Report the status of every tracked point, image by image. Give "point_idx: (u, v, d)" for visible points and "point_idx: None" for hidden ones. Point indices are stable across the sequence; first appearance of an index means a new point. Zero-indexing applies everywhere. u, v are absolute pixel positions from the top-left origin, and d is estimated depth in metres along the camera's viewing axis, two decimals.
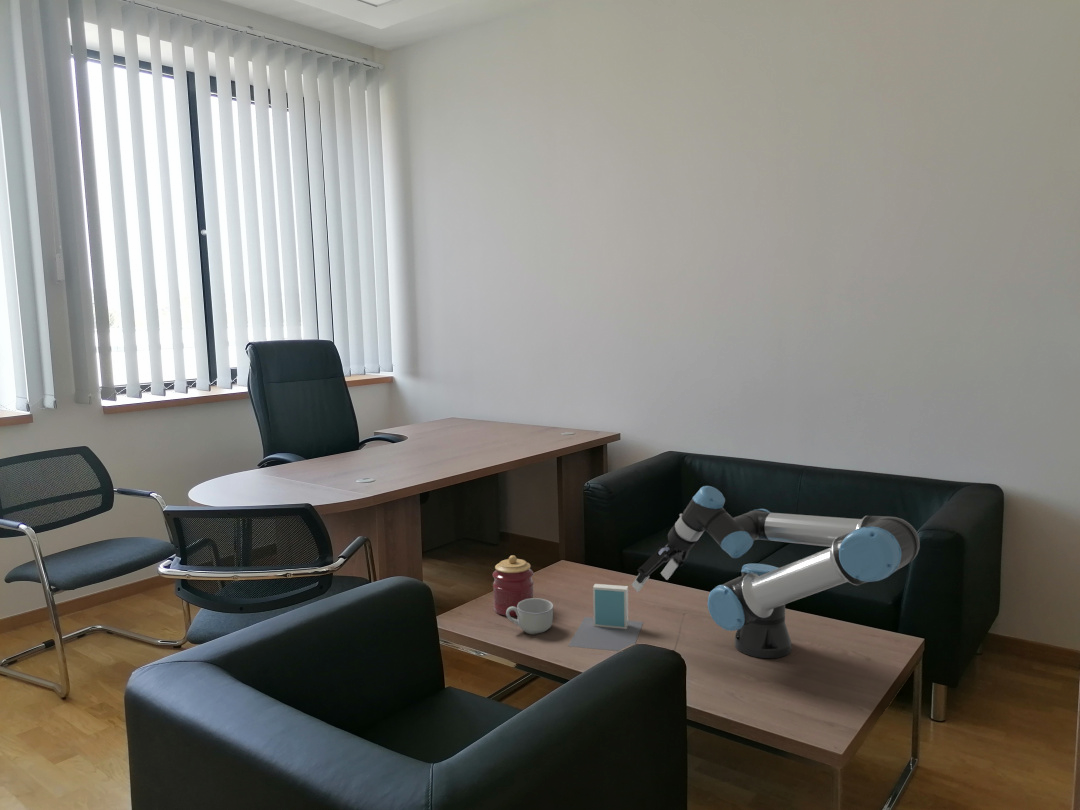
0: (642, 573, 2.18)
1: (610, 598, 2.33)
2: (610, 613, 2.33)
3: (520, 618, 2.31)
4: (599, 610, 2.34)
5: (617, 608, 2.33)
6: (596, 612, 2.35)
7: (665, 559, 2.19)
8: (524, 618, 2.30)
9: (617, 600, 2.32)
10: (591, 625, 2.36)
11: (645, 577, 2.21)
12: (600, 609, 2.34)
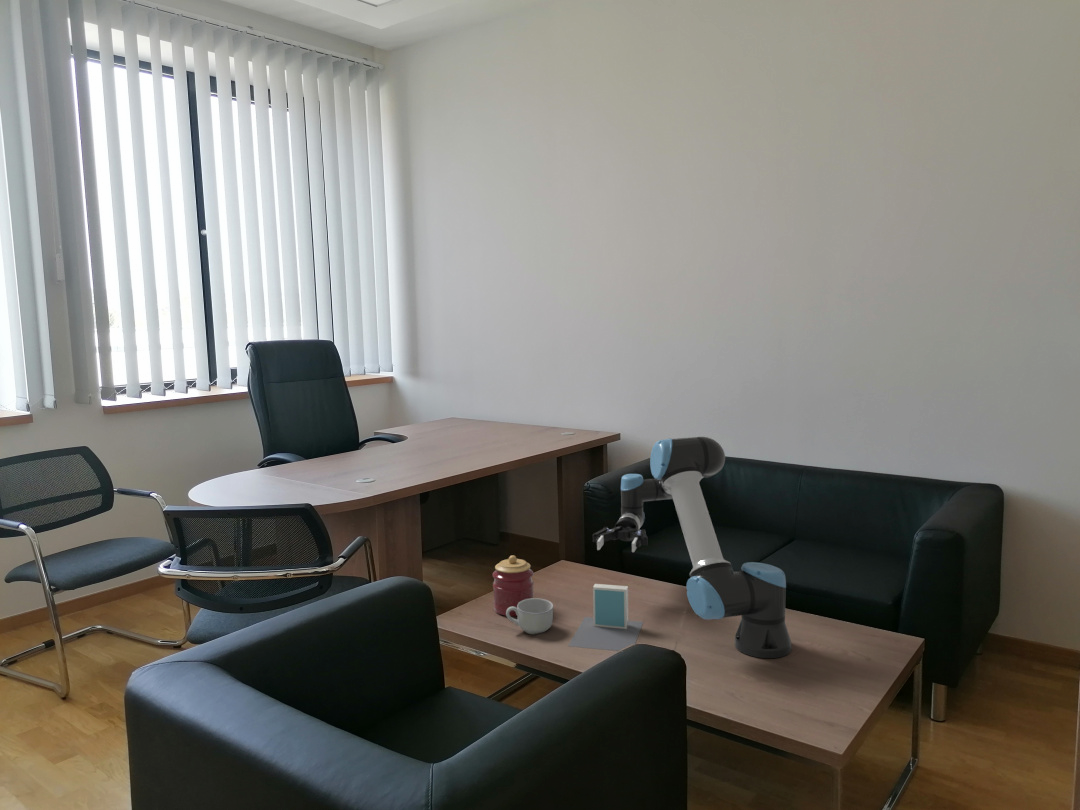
0: None
1: (610, 598, 2.33)
2: (610, 613, 2.33)
3: (520, 618, 2.31)
4: (599, 610, 2.34)
5: (617, 608, 2.33)
6: (596, 612, 2.35)
7: None
8: (524, 618, 2.30)
9: (617, 600, 2.32)
10: (591, 625, 2.36)
11: None
12: (600, 609, 2.34)
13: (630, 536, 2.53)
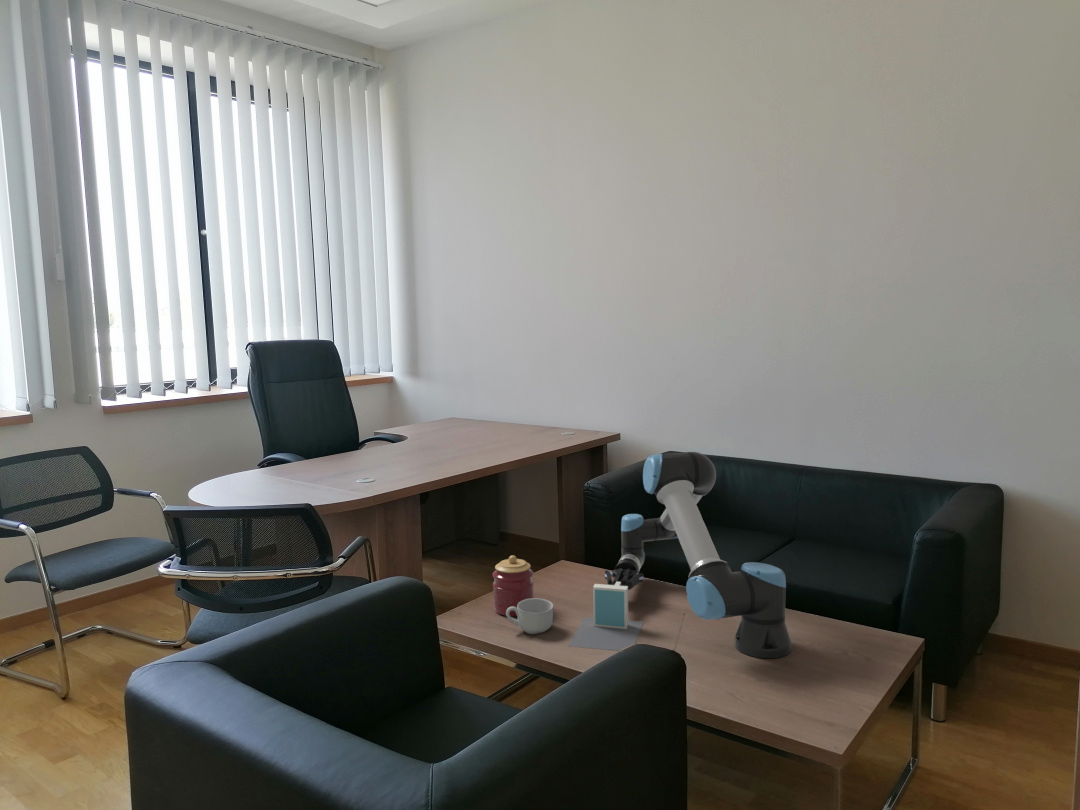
0: (608, 582, 2.50)
1: (610, 598, 2.33)
2: (610, 613, 2.33)
3: (520, 618, 2.31)
4: (599, 610, 2.34)
5: (617, 608, 2.33)
6: (596, 612, 2.35)
7: (616, 574, 2.55)
8: (524, 618, 2.30)
9: (617, 600, 2.32)
10: (591, 625, 2.36)
11: None
12: (600, 609, 2.34)
13: None
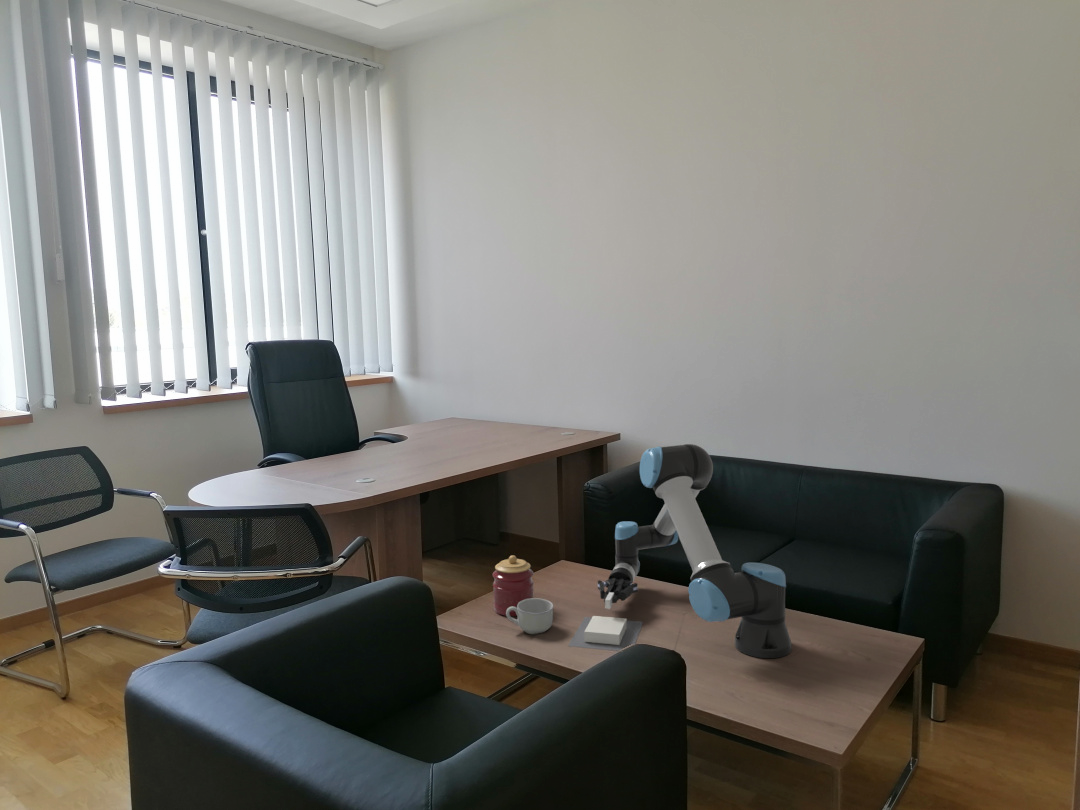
0: (600, 592, 2.41)
1: None
2: None
3: (520, 618, 2.31)
4: None
5: None
6: None
7: (610, 584, 2.46)
8: (524, 618, 2.30)
9: None
10: None
11: None
12: None
13: None
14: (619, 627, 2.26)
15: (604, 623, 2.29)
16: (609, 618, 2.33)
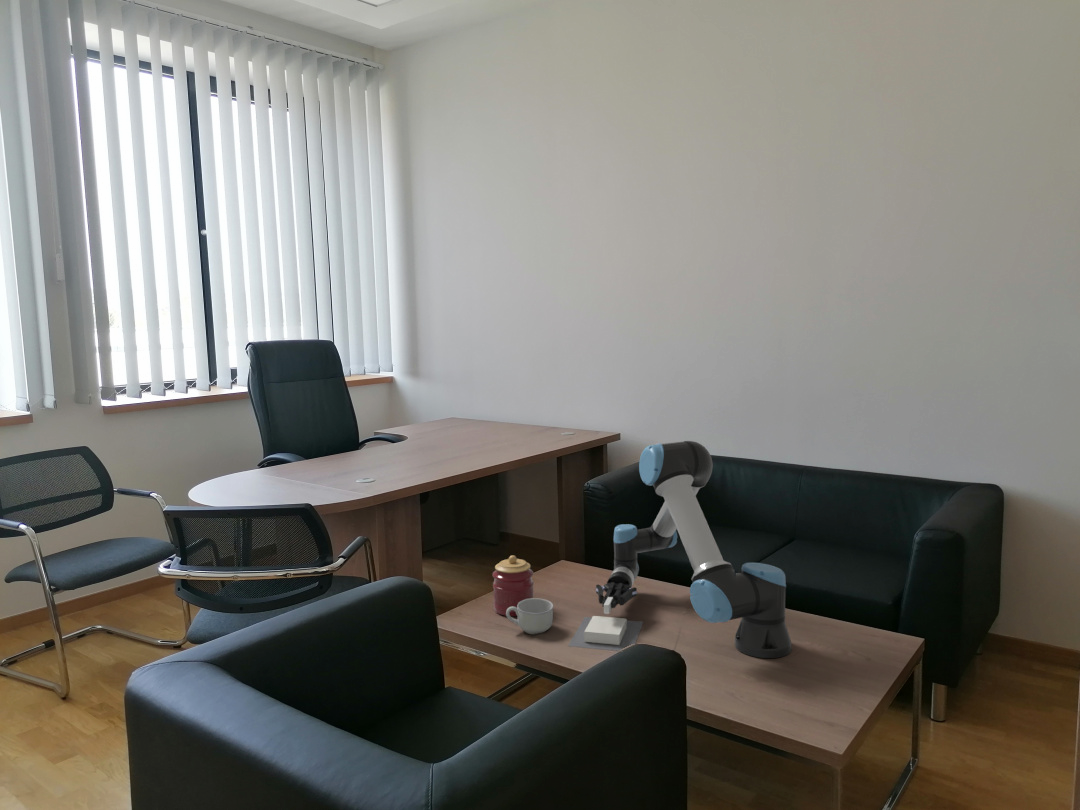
0: (599, 597, 2.37)
1: None
2: None
3: (520, 618, 2.31)
4: None
5: None
6: None
7: (608, 588, 2.42)
8: (524, 618, 2.30)
9: None
10: None
11: None
12: None
13: None
14: (619, 627, 2.26)
15: (604, 623, 2.29)
16: (609, 618, 2.33)
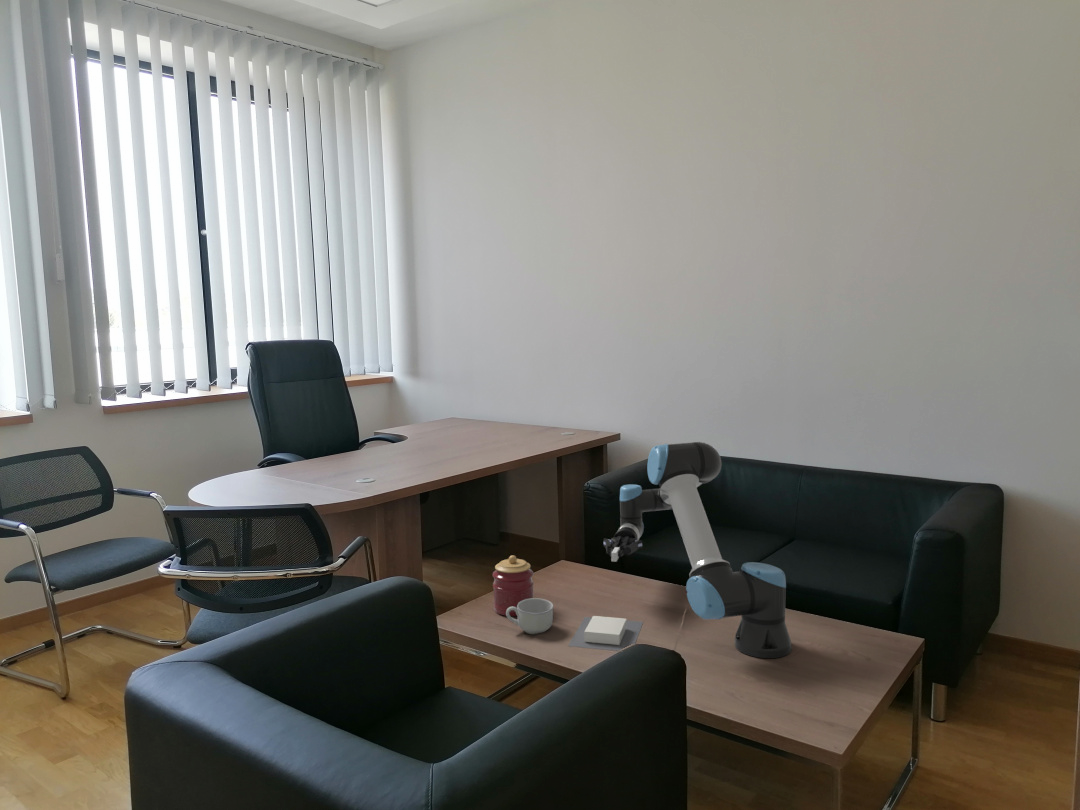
0: (606, 548, 2.50)
1: None
2: None
3: (520, 618, 2.31)
4: None
5: None
6: None
7: (615, 541, 2.55)
8: (524, 618, 2.30)
9: None
10: None
11: None
12: None
13: None
14: (619, 627, 2.26)
15: (604, 623, 2.29)
16: (609, 618, 2.33)
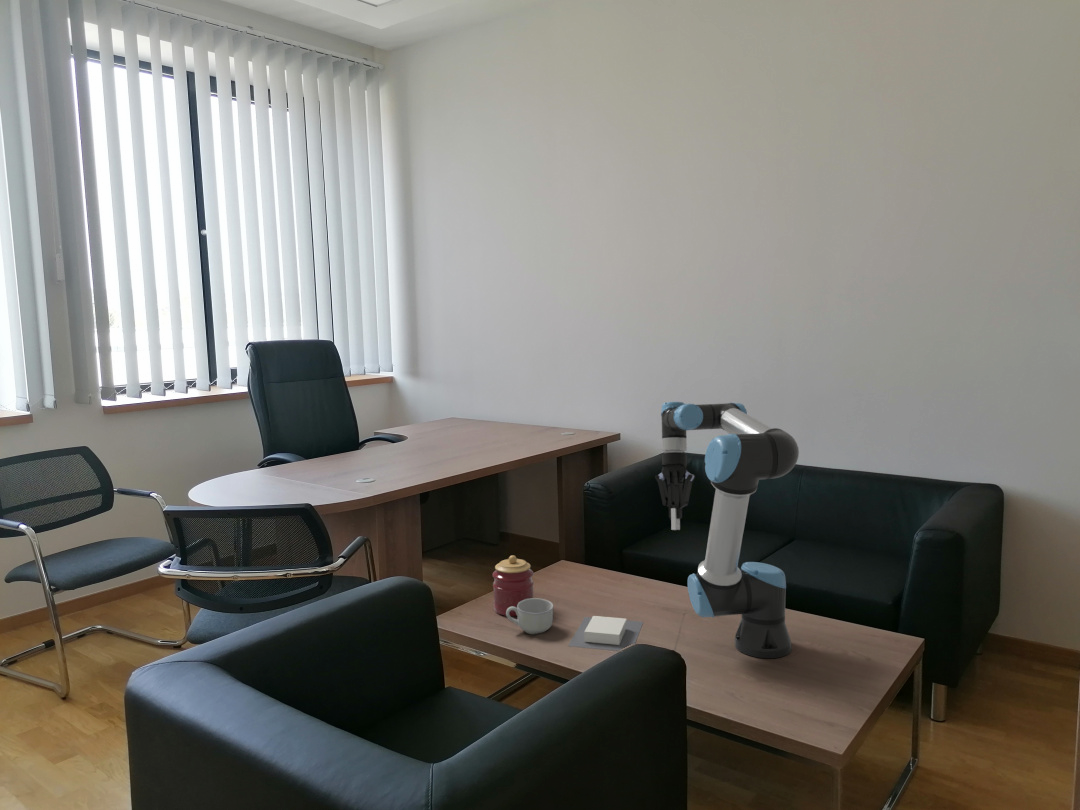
0: None
1: None
2: None
3: (520, 618, 2.31)
4: None
5: None
6: None
7: None
8: (524, 618, 2.30)
9: None
10: None
11: None
12: None
13: None
14: (619, 627, 2.26)
15: (604, 623, 2.29)
16: (609, 618, 2.33)
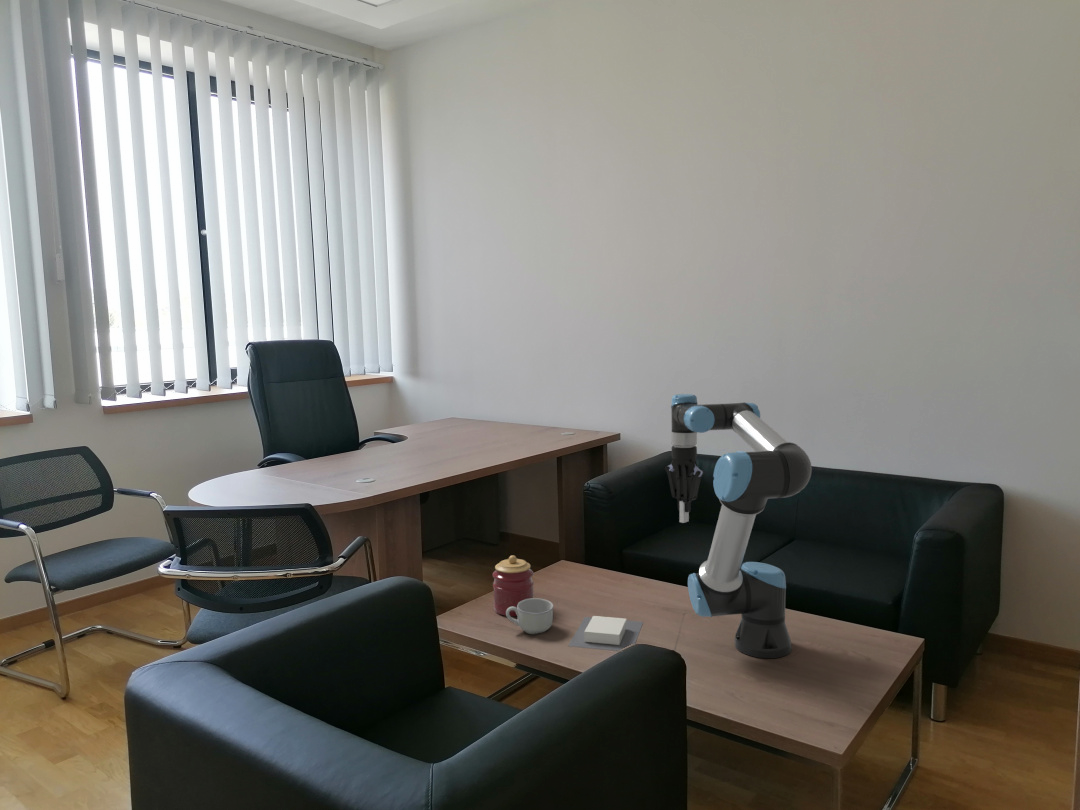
0: None
1: None
2: None
3: (520, 618, 2.31)
4: None
5: None
6: None
7: None
8: (524, 618, 2.30)
9: None
10: None
11: None
12: None
13: None
14: (619, 627, 2.26)
15: (604, 623, 2.29)
16: (609, 618, 2.33)
